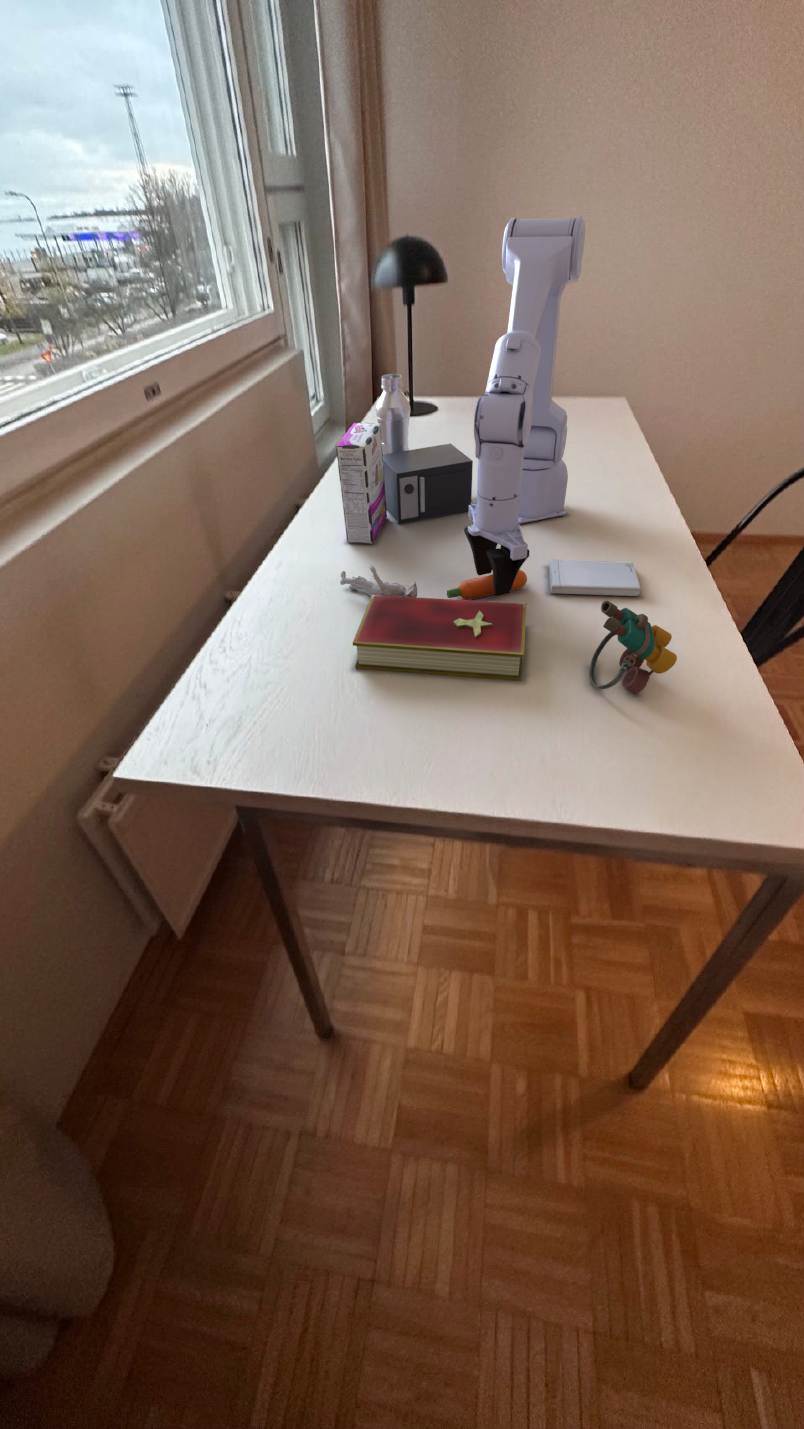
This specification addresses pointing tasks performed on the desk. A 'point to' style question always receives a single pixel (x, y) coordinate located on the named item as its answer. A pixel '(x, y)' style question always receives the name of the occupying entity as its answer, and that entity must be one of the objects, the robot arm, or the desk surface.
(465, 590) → the carrot
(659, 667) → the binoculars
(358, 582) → the soldier figure
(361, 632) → the hardcover book
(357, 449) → the candy bar box
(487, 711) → the desk surface
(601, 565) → the hard drive
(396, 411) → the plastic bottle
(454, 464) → the mini oven
